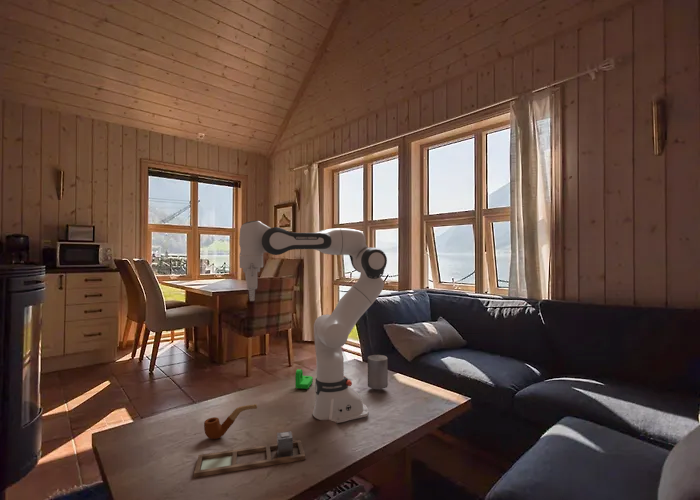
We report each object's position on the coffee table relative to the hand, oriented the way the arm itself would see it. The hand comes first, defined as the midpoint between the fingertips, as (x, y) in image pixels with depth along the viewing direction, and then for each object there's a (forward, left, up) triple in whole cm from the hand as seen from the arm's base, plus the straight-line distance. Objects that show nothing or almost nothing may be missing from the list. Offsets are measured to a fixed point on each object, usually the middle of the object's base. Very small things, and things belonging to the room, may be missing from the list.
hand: (251, 299), depth 139 cm
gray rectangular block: (-10, +27, -47) cm, 55 cm away
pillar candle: (-58, -21, -47) cm, 78 cm away
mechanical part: (-25, -35, -47) cm, 64 cm away
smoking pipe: (+8, +9, -47) cm, 48 cm away
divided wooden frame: (+1, +27, -46) cm, 54 cm away
